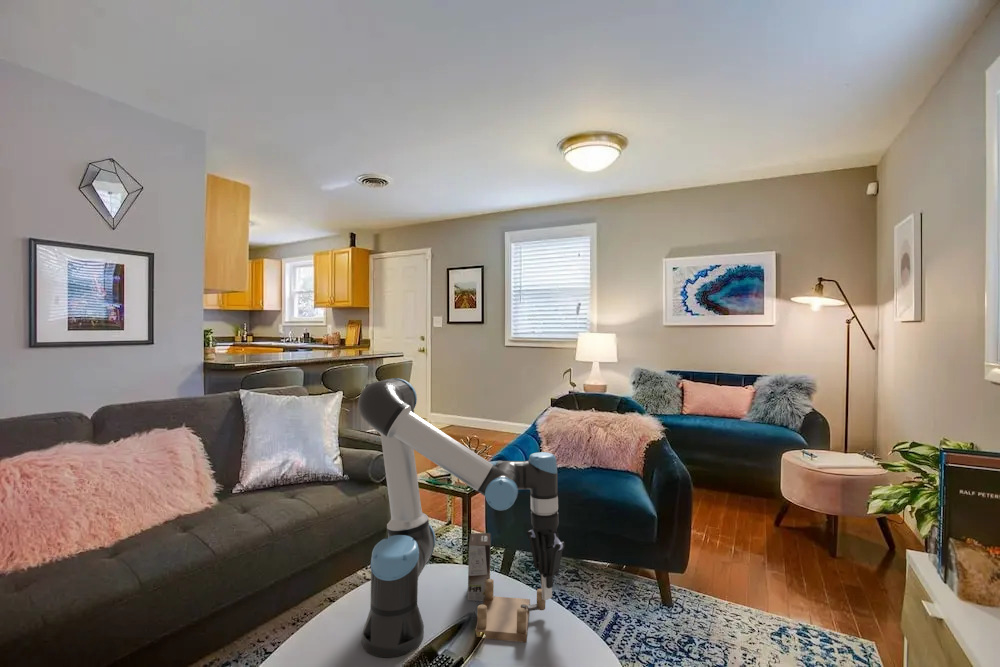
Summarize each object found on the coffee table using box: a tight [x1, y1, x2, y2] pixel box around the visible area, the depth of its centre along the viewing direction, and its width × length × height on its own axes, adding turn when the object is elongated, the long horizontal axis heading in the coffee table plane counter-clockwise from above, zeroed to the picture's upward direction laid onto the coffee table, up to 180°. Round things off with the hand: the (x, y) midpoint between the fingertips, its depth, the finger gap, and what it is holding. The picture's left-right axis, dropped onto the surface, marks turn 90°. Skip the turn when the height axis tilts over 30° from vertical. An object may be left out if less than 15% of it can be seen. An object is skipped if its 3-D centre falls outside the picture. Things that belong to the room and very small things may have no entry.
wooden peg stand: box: [474, 578, 531, 643], centre depth 124 cm, size 13×16×7 cm
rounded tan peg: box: [527, 588, 546, 612], centre depth 126 cm, size 5×2×5 cm, turn 105°
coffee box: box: [467, 532, 492, 602], centre depth 138 cm, size 9×6×16 cm
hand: (547, 598), depth 126 cm, fingers closed
